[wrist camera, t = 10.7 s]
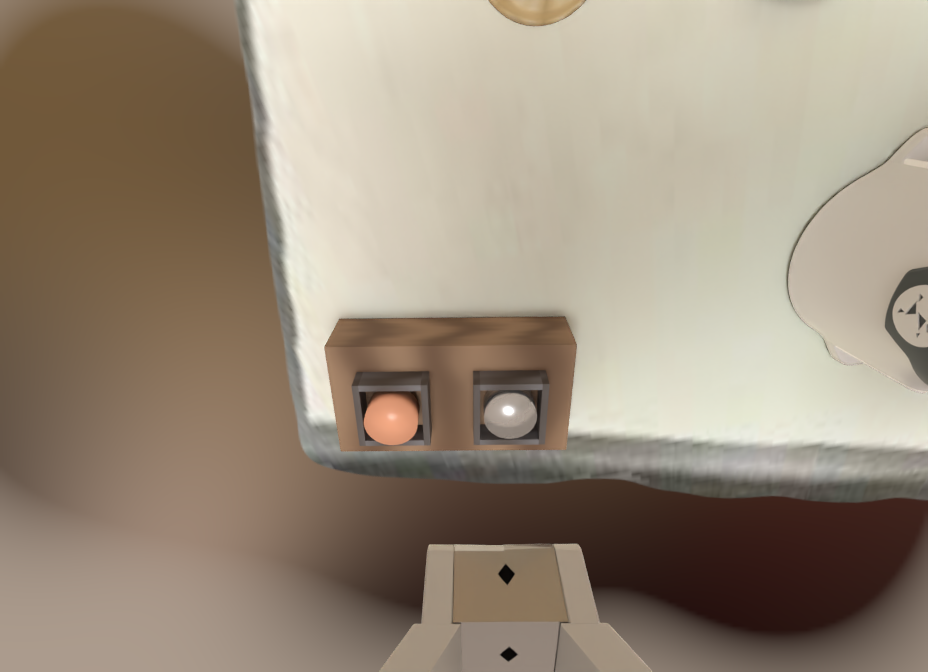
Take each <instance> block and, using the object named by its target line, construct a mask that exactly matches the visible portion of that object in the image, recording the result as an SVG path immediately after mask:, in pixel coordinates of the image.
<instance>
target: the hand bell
mask: <svg viewBox="0 0 928 672" xmlns="http://www.w3.org/2000/svg"><path fill="white" fill-rule="evenodd" d="M489 1H490V3H491V4H492V5H493V6H494V7H495V8H496V9H497V10H498V11H499V12H500V13H501V14H503V15H504V16H505V17H507V18H509V19H510V20H513V21H515V22H517V23H520V24H524V25H530V26H542V25H548V24H552V23H555V22H558V21H560V20H562V19H564V18H566V17H568V16H569V15H571V14H572V13H573V12H574V11H576V10H577V9H578V8H579V7H580V6H581V5H582V4H583V3H584V2H585V1H586V0H489Z"/></svg>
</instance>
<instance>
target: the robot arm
mask: <svg viewBox="0 0 928 672" xmlns="http://www.w3.org/2000/svg"><path fill="white" fill-rule="evenodd" d="M788 289H789V295H790V299H791V302H792V305H793V307H794V309H795V311H796V313H797V314H798V316H799V317H800V318H801V319H802V320H803V321H804V323H806V324H807V325H808V326H809V327H811V328H812V329H813V330H815V331H816V332H818V333H819V334H820V335H821V336H822V337H823V338H824V340H825V343H826V346H827V348H828V351H829V353H830V355H831V356H832V357H833V358H834V359H835V360H837V361H839V362H840V363H842V364H844V365H856V364H862V363H864V364H866V365H868V366H869V367H871V368H873V369H875V370H876V371H878V372H880V373H882V374H883V375H885V376H887V377H889V378H891V379H892V380H894V381H896V382H898V383H899V384H901V385H903V386H905V387H907V388H908V389H910V390H913V391H915V392H919V393H925V392H927V391H928V128H925V129H922V130H921V131H919V132H917V133H916V134H915V135H913V136H912V137H911V138H910V139H909V140H908V141H907V142H906V143H905V144H903V145H902V146H901V148H900V149H899V150H898V151H897V152H896V153H895V154H894V155H893V156H892V157H891V158H890V159H889V160H888V161H887V162H886V163H884V164H883V165H882V166H880V167H879V168H877V169H875V170H874V171H872V172H870V173H868V174H867V175H865V176H863V177H861V178H860V179H858V180H856V181H855V182H853V183H851V184H850V185H848V186H847V187H846V188H844V189H843V190H842V191H840V192H839V193H838V194H837V195H835V196H834V197H833V198H832V199H831V200H830V201H829V202H828V203H827V204H826V205H825V206H824V207H823V208H822V209H821V210H820V211H819V212H818V213H817V214H816V216H815V217H814V218H813V219H812V221H811V222H810V223H809V225H808V226H807V228H806V229H805V231H804V232H803V234H802V236H801V238H800V239H799V242H798V244H797V246H796V248H795V251H794V253H793V256H792V259H791V263H790V268H789V275H788ZM379 672H653V671H652V670H651V669H650V668H649V667H648V666H647V665H646V664H645V663H644V662H643V661H642V659H641V658H640V657H639V656H638V655H637V654H636V653H635V652H634V651H633V650H632V649H631V648H630V647H629V645H628V644H627V643H626V642H625V641H624V640H623V639H622V638H621V637H620V636H619V635H618V634H617V633H616V632H615V630H614V629H613V628H612V627H611V626H610V625H609V624H608V623H600V621H599V617H598V613H597V609H596V605H595V601H594V598H593V594H592V590H591V586H590V582H589V578H588V574H587V570H586V567H585V562H584V558H583V555H582V550H581V548H580V546H579V545H578V544H553V545H552V544H512V545H503V546H497V545H455V547H454V545H429V547H428V551H427V561H426V573H425V586H424V599H423V611H422V623H421V624H414V625H413V626H412V627H411V628H410V630H409V631H408V633H407V634H406V635H405V637H404V638H403V639H402V641H401V642H400V644H399V645H398V646H397V648H396V649H395V650H394V652H393V653H392V654H391V656H390V657H389V659H388V660H387V661H386V663H385V664H384V666H383V667H382V668H381V669H380V671H379Z"/></svg>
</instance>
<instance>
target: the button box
mask: <svg viewBox="0 0 928 672" xmlns="http://www.w3.org/2000/svg"><path fill="white" fill-rule="evenodd" d="M324 348H325V354H326V361H327V367H328V373H329V380H330V386H331V392H332V398H333V405H334V411H335V417H336V424H337V430H338V436H339V443H340V449H341V451H444V450H566V445H567V435H568V426H569V416H570V406H571V396H572V387H573V377H574V367H575V358H576V348H577V344H576V342H575V339H574V337H573V335H572V332H571V330H570V327H569V325H568V323H567V320H566V318H565V317H490V318H392V319H339V321H338V322H337V324H336V326H335V328H334V330H333V332H332V334H331V336H330V337H329V339H328V341H327V343H326V345H325V347H324ZM488 390H530V391H531V393H532V395H533V398H534V403H535V407H536V412H537V421H536V424H535V426H534V427H533V429H532V430H531V431H530V432H529V433H527V434H526V435H524V436H521V437H518V438H514V439H505V438H501V437H498V436H496V435H494V434H493V433H491V432H490V431H489V430H488V428H487V427H486V425H485V421H484V406H483V401H484V397H485V394H486V393H487V391H488ZM377 391H409V392H410V393H412V394H413V395H414V396H415V398H416V399H417V401H418V403H419V407H420V412H419V419H418V426H417V431H416V433H415V435H414V436H413V437H412V438H411V439H410V440H409V441H407V442H405V443H403V444H399V445H386V444H382V443H379V442H377V441H375V440H374V439H373V438H371V437H370V436H369V435H368V433H367V432H366V430H365V427H364V417H365V414H366V411H367V407H368V404H369V401H370V398H371V397H372V395H373V394H374V393H375V392H377Z"/></svg>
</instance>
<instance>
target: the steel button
mask: <svg viewBox="0 0 928 672" xmlns="http://www.w3.org/2000/svg"><path fill="white" fill-rule="evenodd" d="M483 406H484V421H485V425H486V427H487V428H488V430H489V431H490V432H491V433H493V434H494V435H496V436H498V437H501V438H505V439H514V438H518V437H521V436H524V435H526V434H527V433H529V432H530V431H531V430H532V429H533V427H534V426H535V424H536V421H537V412H536V407H535V403H534V398H533V395H532V393H531V391H530V390H488V391H487V393H486V394H485V397H484V401H483Z"/></svg>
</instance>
